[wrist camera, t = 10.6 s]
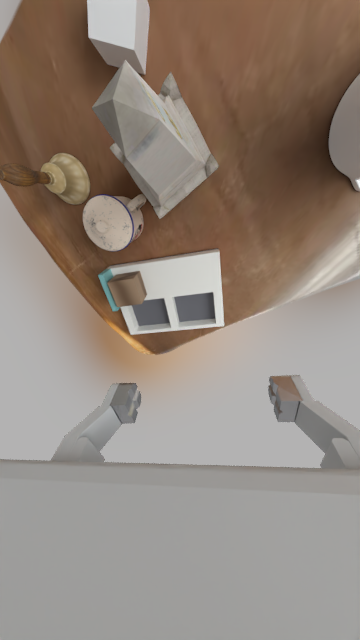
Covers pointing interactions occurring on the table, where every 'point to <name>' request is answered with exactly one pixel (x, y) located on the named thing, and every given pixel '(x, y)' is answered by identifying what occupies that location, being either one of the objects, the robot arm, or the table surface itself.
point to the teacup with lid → (113, 220)
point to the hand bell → (53, 177)
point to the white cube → (120, 31)
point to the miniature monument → (154, 138)
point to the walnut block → (127, 289)
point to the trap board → (173, 292)
